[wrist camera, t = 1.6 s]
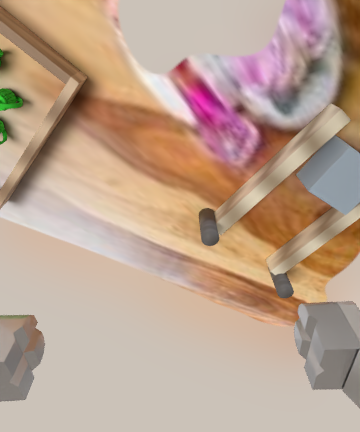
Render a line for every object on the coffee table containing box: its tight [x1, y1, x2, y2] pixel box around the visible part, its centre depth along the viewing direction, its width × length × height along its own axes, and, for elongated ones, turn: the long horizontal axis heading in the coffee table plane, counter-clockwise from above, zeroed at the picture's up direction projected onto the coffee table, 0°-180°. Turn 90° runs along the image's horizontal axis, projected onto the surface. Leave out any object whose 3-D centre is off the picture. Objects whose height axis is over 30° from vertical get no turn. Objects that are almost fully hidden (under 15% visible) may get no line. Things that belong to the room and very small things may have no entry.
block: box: [296, 135, 360, 215], centre depth 42 cm, size 7×7×5 cm
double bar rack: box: [199, 103, 360, 298], centre depth 44 cm, size 23×18×6 cm
